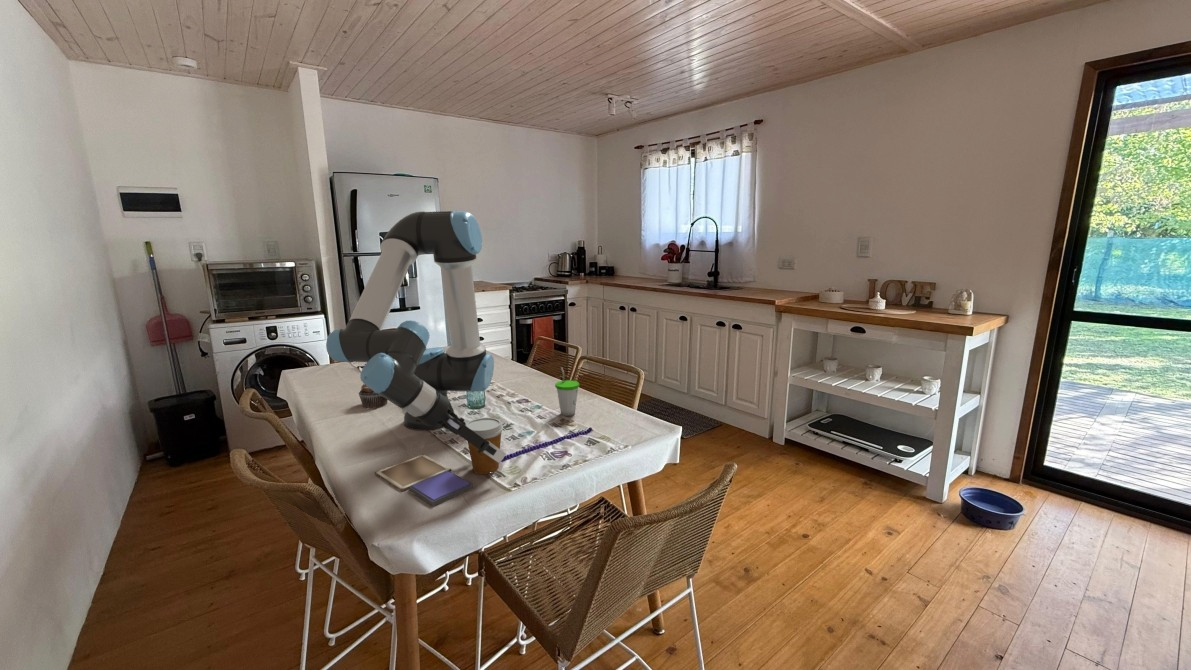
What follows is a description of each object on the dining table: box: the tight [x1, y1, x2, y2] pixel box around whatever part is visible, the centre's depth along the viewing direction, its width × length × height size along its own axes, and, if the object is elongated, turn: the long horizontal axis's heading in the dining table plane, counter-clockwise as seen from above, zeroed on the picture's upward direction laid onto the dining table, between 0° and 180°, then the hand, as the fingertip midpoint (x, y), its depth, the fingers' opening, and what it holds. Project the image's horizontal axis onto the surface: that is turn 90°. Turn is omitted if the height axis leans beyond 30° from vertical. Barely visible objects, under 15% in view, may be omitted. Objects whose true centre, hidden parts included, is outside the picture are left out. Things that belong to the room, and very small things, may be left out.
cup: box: [554, 366, 580, 417], centre depth 159 cm, size 8×8×15 cm
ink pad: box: [408, 471, 474, 507], centre depth 113 cm, size 10×10×1 cm
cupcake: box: [358, 383, 388, 410], centre depth 170 cm, size 10×10×10 cm
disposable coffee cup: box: [466, 417, 504, 475], centre depth 122 cm, size 10×10×12 cm
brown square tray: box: [374, 454, 453, 493], centre depth 121 cm, size 13×13×1 cm
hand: (490, 448), depth 123 cm, fingers open, 13 cm apart
